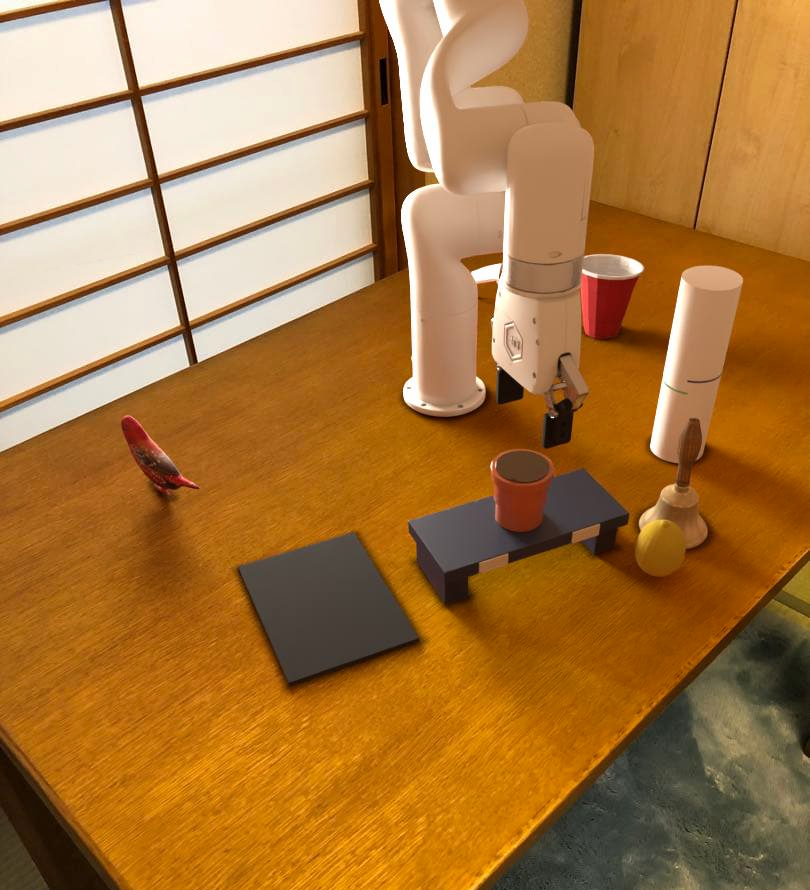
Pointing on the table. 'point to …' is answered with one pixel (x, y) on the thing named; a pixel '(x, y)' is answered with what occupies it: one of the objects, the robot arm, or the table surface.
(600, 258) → the plastic cup
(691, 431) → the hand bell
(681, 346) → the cylindrical container
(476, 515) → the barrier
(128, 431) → the decorative bird figurine
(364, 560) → the mat
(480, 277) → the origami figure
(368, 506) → the table surface
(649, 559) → the lemon
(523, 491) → the pot
